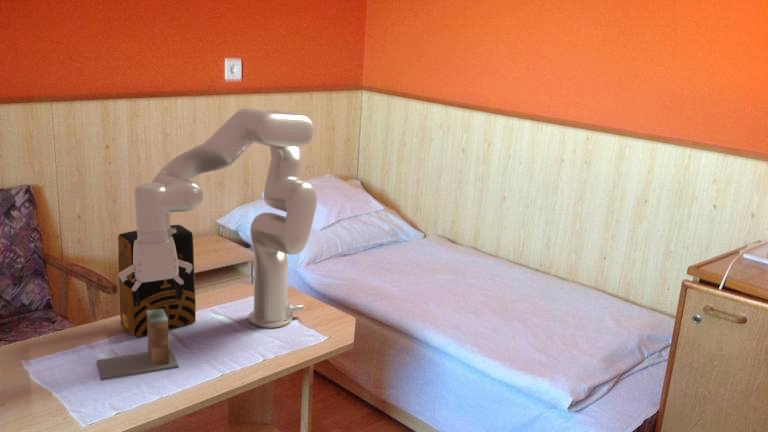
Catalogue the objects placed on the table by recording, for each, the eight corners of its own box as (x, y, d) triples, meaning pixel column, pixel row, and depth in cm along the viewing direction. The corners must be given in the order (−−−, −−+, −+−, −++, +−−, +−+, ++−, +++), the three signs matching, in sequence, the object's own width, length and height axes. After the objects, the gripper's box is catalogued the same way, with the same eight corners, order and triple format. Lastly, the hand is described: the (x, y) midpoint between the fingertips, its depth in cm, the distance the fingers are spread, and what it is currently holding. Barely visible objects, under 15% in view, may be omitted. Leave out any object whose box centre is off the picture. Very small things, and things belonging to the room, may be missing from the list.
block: (164, 351, 186) (163, 308, 183) (169, 363, 180) (167, 319, 177) (148, 354, 184) (146, 310, 181) (152, 366, 178) (150, 321, 175)
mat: (170, 350, 188) (170, 348, 188) (178, 367, 180) (178, 365, 180) (96, 361, 180) (96, 359, 180) (101, 380, 172) (101, 378, 172)
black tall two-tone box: (199, 323, 205) (198, 228, 198) (132, 340, 193) (128, 239, 185) (183, 310, 213) (180, 219, 205) (117, 326, 201) (112, 229, 193)
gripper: (187, 226, 180) (190, 290, 185) (113, 234, 173) (119, 300, 178) (194, 235, 174) (197, 301, 179) (117, 243, 166) (123, 312, 171)
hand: (158, 301), depth 178 cm, fingers open, 9 cm apart
